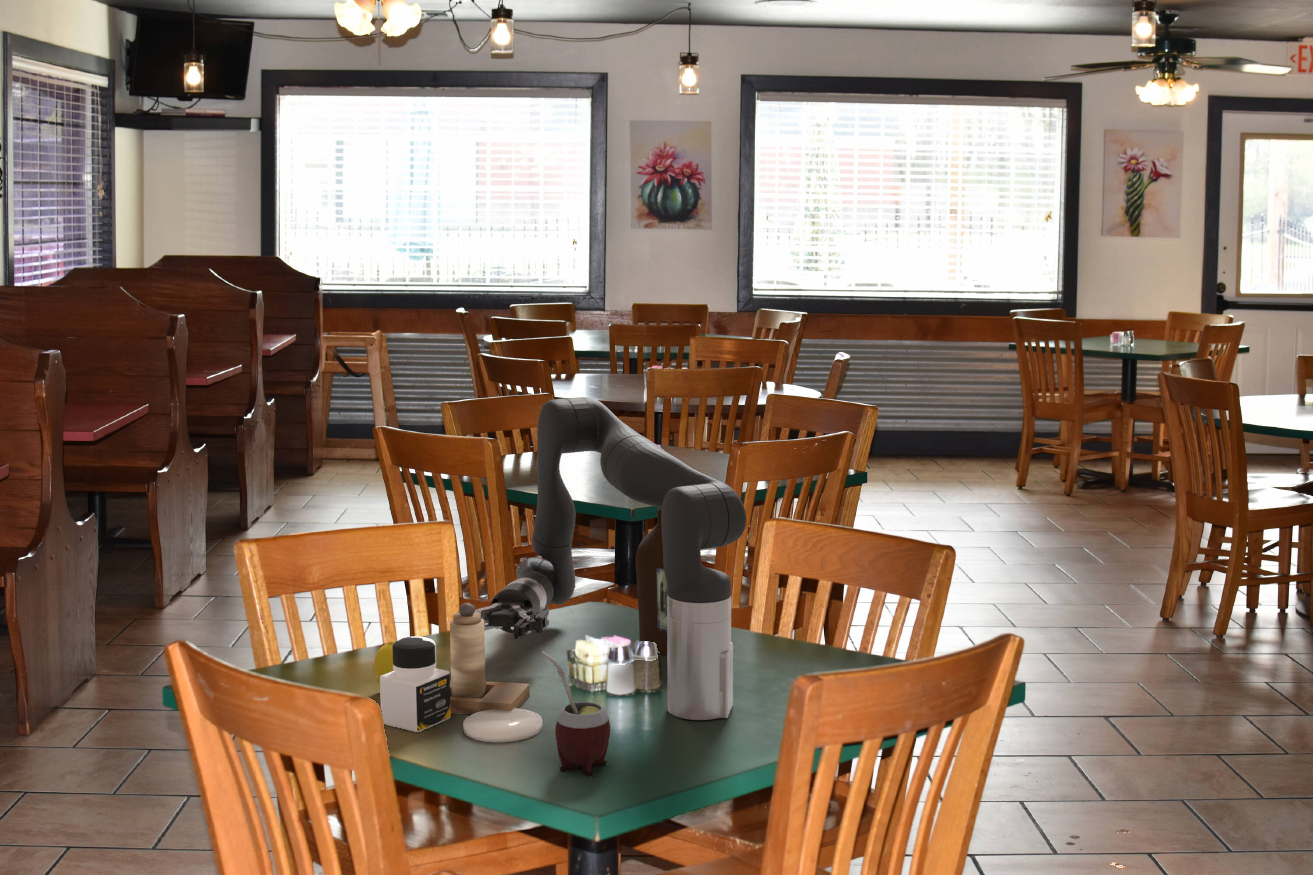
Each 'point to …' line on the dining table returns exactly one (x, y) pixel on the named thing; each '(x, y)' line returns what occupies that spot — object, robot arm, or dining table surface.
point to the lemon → (384, 661)
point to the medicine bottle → (415, 687)
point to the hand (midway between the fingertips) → (489, 631)
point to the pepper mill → (467, 653)
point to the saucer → (502, 725)
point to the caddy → (492, 698)
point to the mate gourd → (581, 732)
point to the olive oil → (652, 588)
